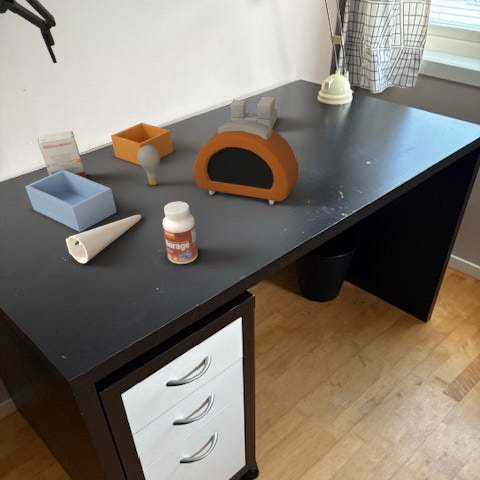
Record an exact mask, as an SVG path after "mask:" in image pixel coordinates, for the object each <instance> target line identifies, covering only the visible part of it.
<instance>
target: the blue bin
mask: <svg viewBox="0 0 480 480" xmlns="http://www.w3.org/2000/svg"><path fill="white" fill-rule="evenodd" d="M24 187H25V190H26V193H27V196H28V198H29V201H30V203H31V207H32V209H33V210H34V211H35V212H37V213H39V214H41V215H44V216H45V217H48V218H50V219H52V220H54V221H56V222H59V223H61V224H62V225H64V226H66V227H68V228H71V229H73V230H74V231H77V232H79V233H82V232H84V231H86V229H88V228H91V227H92V226H94V225H96V224H98V223H100V222H101V221H103V220H105V219H107V218H108V217H110V216H112V215H114V214H116V213H117V209H116V208H117V207H116V204H115V200H114V199H115V198H114V194H113V191H112V188H111V187H109V186H106V185H103V184H100V183H99V182H96V181H93V180H90V179H89V178H87V177H86V178H83V177H81V176H78V175H76V174H73V173H71V172H68V171H65V170H61V171H59V172H57V173H54V174H52V175H50V176H49V175H48V176H45V177H43V178H41V179H39V180H36V181H34V182H32V183H30V184H27V185H25V186H24Z"/></svg>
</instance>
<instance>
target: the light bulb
mask: <svg viewBox="0 0 480 480" xmlns="http://www.w3.org/2000/svg"><path fill="white" fill-rule="evenodd" d="M137 157H138V162H139V164H140V165H139V166H141V168H142V169H143V170H144V171H145V172H146V175H147V176H146V177H147V179H148V184H149V185H151V186H155V185H157V184H158V177H157V175H158V174H157V170H158V167H159V165H160V163H161V158H160V153H159V151H158V150H157V149H156V148H155V147H153V146H151V145H146V146H143V147H142V148H140V150H139V151H138V155H137Z"/></svg>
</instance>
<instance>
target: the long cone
mask: <svg viewBox="0 0 480 480" xmlns="http://www.w3.org/2000/svg"><path fill="white" fill-rule="evenodd" d="M141 219H142V215H141V214H134V215H132V216H129V217H125V218H123V219H119V220H116V221H113V222H110V223H107V224H104V225H101V226H98V227H94V228H92V229H89V230H85V231H81V232H79V233H77V234H73V235H70V236H68V237H67V238H65V242H66V247H67V250H68V254H69V255H71V256H72V257H73V259H74V260H76V261H77V262H78V263H80V264H87V263H88V262H90V260H92V259H93V258H95V257H96V256H97V255H98V254H99V253H100V252H101V251H103V250H104V249H106V248H107V247H108V246H109V245H110V244H112V243H113V242H114V241H115V240H117V239H118V238H119V237H121V236H122V235H123V234H124V233H125V232H127V231H128V230H129V229H131V228H132V227H133V226H134V225H136V224H137V223H138V222H140V220H141ZM77 242H78V244H76V243H77Z"/></svg>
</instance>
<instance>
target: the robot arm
mask: <svg viewBox="0 0 480 480" xmlns="http://www.w3.org/2000/svg"><path fill="white" fill-rule="evenodd" d="M25 2H26V3H27V4H28V5H30V7H31V8H32V9H34V10H35V12H36V13H38V15H40V16H38V15H37V14H35V13H34V12H32V11H31V10H29V9H28V8H26V7H24V6H23V5H22V4H20V3H19V2H18V1H17V0H0V14H1V15H4V14H7V11H9V12H11V13H13V14H16V15H17V16H19V17H21V18H22V19H24V20H25V21H27V22H29V23H30V24H32V25H33V26H35V27H36V28H38V29H39V31H40V34H41V36H42V37H41V38H42V39H43V41H44V44H45V47H46V49H47V51H48V53H49V56H50V58H51V60H52V63H53V64H57V63H58V61H57V58H56V55H55V53H54V50H53V48H52V47H54V46H55V45H56V44H55V39H54V37H53V35H52V31H51V29H52V28H54V27H56V26H57V23H56V20H55V17H54V15H53V14H52V13H51V12H50V11H49V10H48V9H47V8H46V7H45V6H44V5H43V4H42V3H41V2H40V1H39V0H25Z"/></svg>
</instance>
